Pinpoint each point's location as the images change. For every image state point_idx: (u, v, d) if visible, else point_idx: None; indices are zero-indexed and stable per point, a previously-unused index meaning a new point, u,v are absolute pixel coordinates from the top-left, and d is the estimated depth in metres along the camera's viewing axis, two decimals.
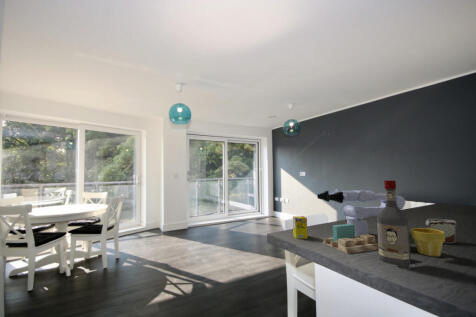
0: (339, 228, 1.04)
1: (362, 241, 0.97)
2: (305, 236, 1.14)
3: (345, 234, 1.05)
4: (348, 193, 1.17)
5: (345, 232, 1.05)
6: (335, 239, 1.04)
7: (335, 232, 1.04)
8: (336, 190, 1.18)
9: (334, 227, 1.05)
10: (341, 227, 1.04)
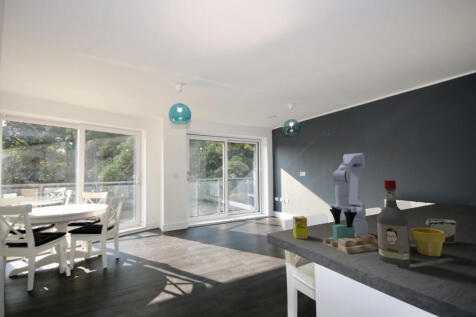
0: (339, 228, 1.04)
1: (362, 241, 0.97)
2: (305, 236, 1.14)
3: (345, 234, 1.05)
4: (346, 195, 1.04)
5: (345, 232, 1.05)
6: (335, 239, 1.04)
7: (335, 232, 1.04)
8: None
9: (334, 227, 1.05)
10: (341, 227, 1.04)
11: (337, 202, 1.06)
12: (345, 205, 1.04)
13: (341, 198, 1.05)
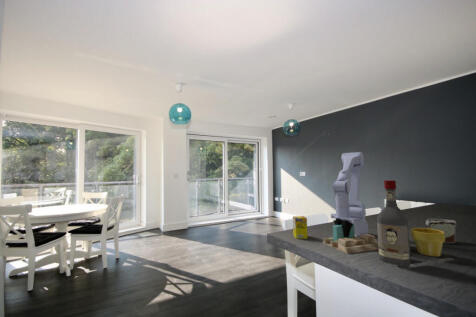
0: (339, 228, 1.04)
1: (362, 241, 0.97)
2: (305, 236, 1.14)
3: None
4: (346, 206, 1.04)
5: None
6: (335, 239, 1.04)
7: (335, 232, 1.04)
8: None
9: (334, 227, 1.05)
10: (341, 227, 1.04)
11: (338, 213, 1.06)
12: (346, 216, 1.04)
13: (342, 209, 1.04)
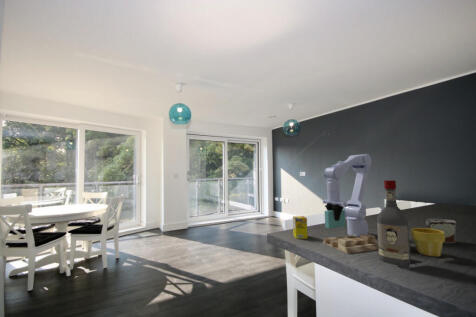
0: (330, 213, 1.10)
1: (362, 241, 0.97)
2: (305, 236, 1.14)
3: None
4: (335, 191, 1.10)
5: None
6: (327, 223, 1.10)
7: (327, 217, 1.10)
8: (328, 202, 1.11)
9: (326, 212, 1.10)
10: (332, 212, 1.10)
11: (329, 198, 1.12)
12: (336, 200, 1.09)
13: (332, 194, 1.10)
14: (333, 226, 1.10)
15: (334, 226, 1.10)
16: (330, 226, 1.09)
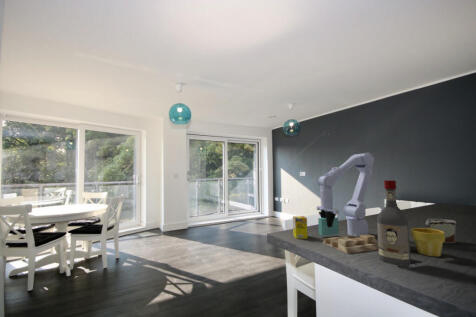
0: (323, 220, 1.15)
1: (362, 241, 0.97)
2: (305, 236, 1.14)
3: None
4: (326, 199, 1.15)
5: None
6: (320, 230, 1.15)
7: (320, 224, 1.15)
8: (322, 209, 1.16)
9: (319, 219, 1.15)
10: (326, 219, 1.15)
11: (322, 205, 1.16)
12: (329, 208, 1.14)
13: (325, 201, 1.15)
14: (326, 233, 1.14)
15: (327, 233, 1.15)
16: (323, 233, 1.14)
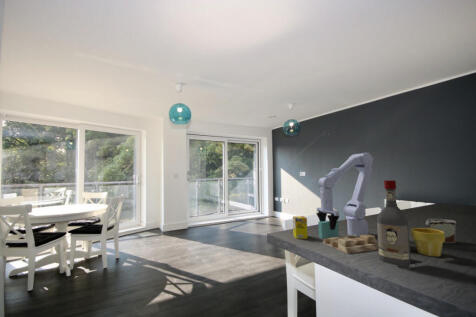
0: (323, 224, 1.14)
1: (362, 241, 0.97)
2: (305, 236, 1.14)
3: (330, 229, 1.15)
4: (326, 200, 1.15)
5: None
6: (320, 234, 1.15)
7: (320, 228, 1.15)
8: None
9: (319, 223, 1.15)
10: (326, 223, 1.15)
11: (322, 206, 1.16)
12: (329, 209, 1.14)
13: (325, 203, 1.15)
14: (326, 237, 1.14)
15: (327, 237, 1.14)
16: (323, 237, 1.14)
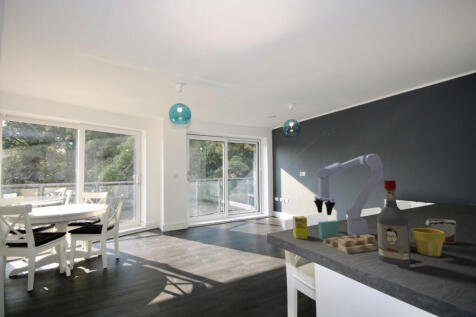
0: (323, 224, 1.14)
1: (362, 241, 0.97)
2: (305, 236, 1.14)
3: (330, 229, 1.15)
4: (319, 188, 1.28)
5: (330, 228, 1.15)
6: (320, 234, 1.15)
7: (320, 228, 1.15)
8: (319, 198, 1.28)
9: (319, 223, 1.15)
10: (326, 223, 1.15)
11: (319, 194, 1.28)
12: (326, 197, 1.26)
13: (323, 191, 1.27)
14: (326, 237, 1.14)
15: (327, 237, 1.14)
16: (323, 237, 1.14)
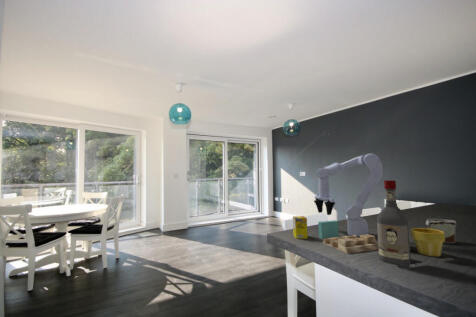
0: (323, 224, 1.14)
1: (362, 241, 0.97)
2: (305, 236, 1.14)
3: (330, 229, 1.15)
4: (319, 188, 1.29)
5: (330, 228, 1.15)
6: (320, 234, 1.15)
7: (320, 228, 1.15)
8: (319, 198, 1.29)
9: (319, 223, 1.15)
10: (326, 223, 1.15)
11: (319, 194, 1.29)
12: (326, 197, 1.27)
13: (323, 191, 1.28)
14: (326, 237, 1.14)
15: (327, 237, 1.14)
16: (323, 237, 1.14)
